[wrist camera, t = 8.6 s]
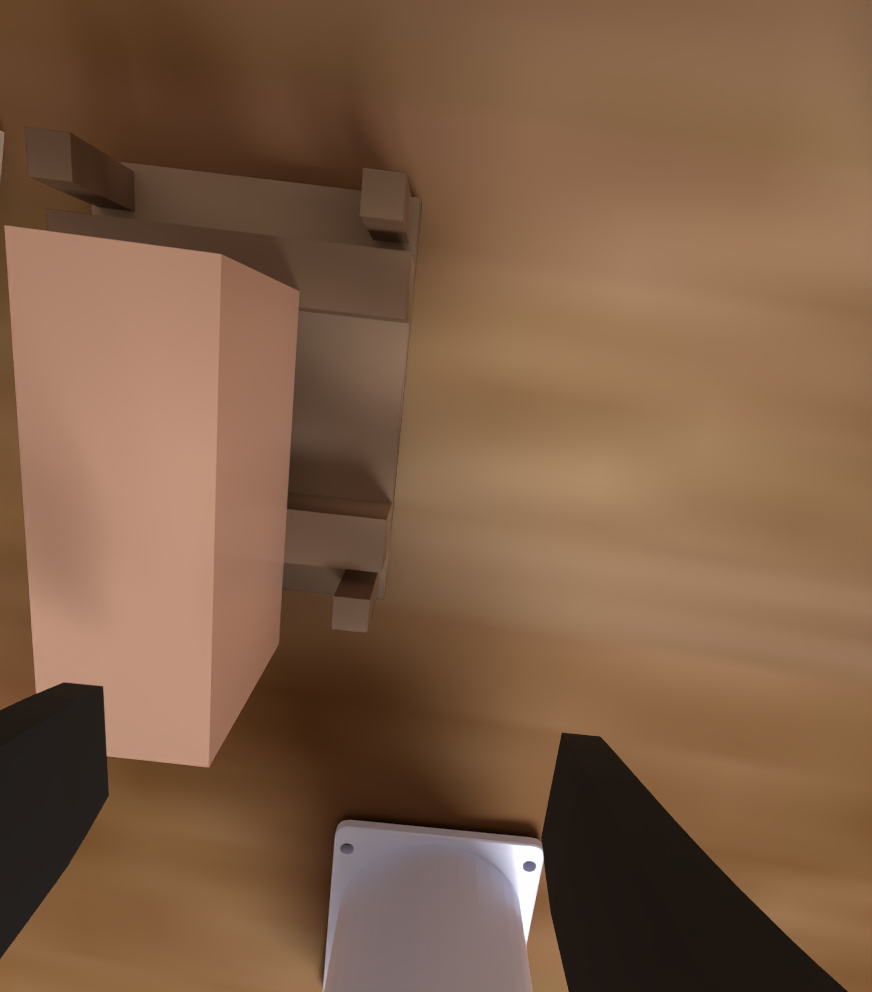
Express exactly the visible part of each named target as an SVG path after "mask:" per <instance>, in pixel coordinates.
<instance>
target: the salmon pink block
mask: <svg viewBox="0 0 872 992" xmlns="http://www.w3.org/2000/svg"><path fill="white" fill-rule="evenodd" d="M4 226H5V241H6V256H7V271H8V285H9V300H10V315H11V330H12V345H13V359H14V374H15V389H16V404H17V418H18V433H19V448H20V463H21V478H22V492H23V507H24V522H25V537H26V551H27V566H28V581H29V596H30V611H31V625H32V640H33V655H34V670H35V684H36V694H37V693H39V692H41V691H44V690H46V689H49V688H51V687H54V686H56V685H59V684H61V683H63V682H66V683H76V684H86V685H96V686H103V691H104V711H105V732H106V752H107V756H111V757H120V758H129V759H138V760H147V761H156V762H165V763H174V764H182V765H191V766H200V767H209V766H210V765H211V763H212V761H213V759H214V758H215V756H216V754H217V752H218V750H219V749H220V747H221V745H222V743H223V742H224V740H225V738H226V736H227V735H228V733H229V731H230V729H231V728H232V726H233V724H234V722H235V721H236V719H237V717H238V715H239V713H240V712H241V710H242V708H243V706H244V705H245V703H246V701H247V699H248V698H249V696H250V694H251V692H252V691H253V689H254V687H255V685H256V684H257V682H258V680H259V678H260V677H261V675H262V673H263V671H264V669H265V668H266V666H267V664H268V662H269V661H270V659H271V657H272V655H273V654H274V652H275V650H276V648H277V647H278V645H279V633H280V616H281V599H282V582H283V565H284V548H285V531H286V514H287V497H288V480H289V463H290V446H291V430H292V413H293V396H294V379H295V362H296V345H297V328H298V311H299V294H300V291H298V290H296V289H293V288H291V287H289V286H287V285H285V284H283V283H281V282H279V281H277V280H275V279H273V278H270V277H268V276H266V275H264V274H262V273H260V272H258V271H256V270H254V269H252V268H249V267H247V266H245V265H243V264H241V263H239V262H237V261H235V260H233V259H231V258H229V257H226V256H224V255H222V254H217V253H209V252H202V251H194V250H187V249H179V248H172V247H164V246H157V245H149V244H142V243H134V242H127V241H119V240H112V239H104V238H97V237H89V236H82V235H74V234H66V233H59V232H51V231H44V230H36V229H29V228H21V227H14V226H6V225H4Z"/></svg>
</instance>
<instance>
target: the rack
mask: <svg viewBox="0 0 872 992" xmlns="http://www.w3.org/2000/svg"><path fill="white" fill-rule="evenodd" d="M25 135H26V149H27V163H28V177H31V178H33V179H35V180H37V181H40V182H42V183H44V184H47V185H49V186H51V187H53V188H56V189H58V190H60V191H62V192H65V193H67V194H69V195H71V196H74V197H76V198H78V199H80V200H83V201H85V202H87V203H89V204H91V210H92V214H85V213H77V212H68V211H60V210H51V209H46V216H47V231H51V232H59V233H66V234H74V235H82V236H89V237H97V238H104V239H112V240H119V241H127V242H134V243H142V244H149V245H157V246H164V247H172V248H179V249H187V250H194V251H202V252H209V253H217V254H222V255H224V256H226V257H229V258H231V259H233V260H235V261H237V262H239V263H241V264H243V265H245V266H247V267H249V268H252V269H254V270H256V271H258V272H260V273H262V274H264V275H266V276H268V277H270V278H273V279H275V280H277V281H279V282H281V283H283V284H285V285H287V286H289V287H291V288H293V289H296V290H298V291H300V294H299V311H298V328H297V345H296V362H295V379H294V396H293V413H292V430H291V446H290V463H289V480H288V497H287V514H286V531H285V548H284V565H283V582H282V589H286V590H296V591H305V592H315V593H324V594H334V598H333V613H332V627H331V629H336V630H345V631H355V632H365V633H367V631H368V627H369V623H370V620H371V616H372V612H373V609H374V605H375V601H376V599H381V600H383V598H384V594H385V590H386V579H387V569H388V558H389V548H390V537H391V526H392V516H393V505H394V495H395V484H396V473H397V463H398V452H399V441H400V431H401V420H402V410H403V399H404V388H405V378H406V367H407V357H408V346H409V335H410V325H411V314H412V303H413V293H414V282H415V272H416V261H417V250H418V240H419V229H420V219H421V208H422V204H421V198H419V197H411V193H410V187H409V182H408V176H407V173H403V172H394V171H386V170H378V169H370V168H363V175H362V189H361V190H352V189H344V188H336V187H327V186H319V185H311V184H302V183H294V182H286V181H277V180H269V179H261V178H252V177H244V176H236V175H227V174H219V173H210V172H202V171H194V170H185V169H177V168H169V167H160V166H152V165H144V164H135V163H127V162H119V161H116V160H114V159H113V158H111V157H109V156H108V155H106V154H104V153H103V152H101V151H100V150H98V149H96V148H95V147H93V146H91V145H90V144H88V143H86V142H85V141H83V140H82V139H80V138H78V137H77V136H75V135H73V134H72V133H70V132H63V131H54V130H46V129H38V128H29V127H25Z"/></svg>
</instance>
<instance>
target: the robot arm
mask: <svg viewBox="0 0 872 992" xmlns="http://www.w3.org/2000/svg"><path fill="white" fill-rule="evenodd" d="M108 796H109V793H108V772H107V752H106V732H105V711H104V691H103V686H96V685H86V684H76V683H66V682H63V683H61V684H59V685H56V686H54V687H51V688H49V689H46V690H44V691H41V692H39V693H37V694H35V695H32V696H30V697H28V698H26V699H24V700H21V701H19V702H17V703H15V704H13V705H11V706H9V707H6V708H4V709H2V710H0V958H1V957H2V956H3V954H4V953H5V952H6V950H7V949H8V947H9V946H10V945H11V943H12V942H13V941H14V939H15V938H16V937H17V935H18V934H19V933H20V931H21V930H22V929H23V927H24V926H25V924H26V923H27V922H28V920H29V919H30V918H31V916H32V915H33V913H34V912H35V911H36V909H37V908H38V907H39V905H40V904H41V902H42V901H43V900H44V898H45V897H46V896H47V894H48V893H49V891H50V890H51V889H52V887H53V886H54V885H55V883H56V882H57V880H58V879H59V878H60V876H61V875H62V873H63V872H64V870H65V869H66V868H67V866H68V865H69V863H70V861H71V860H72V858H73V856H74V855H75V853H76V851H77V850H78V848H79V846H80V845H81V843H82V841H83V840H84V838H85V836H86V835H87V833H88V831H89V829H90V828H91V826H92V824H93V822H94V821H95V819H96V817H97V815H98V814H99V812H100V810H101V808H102V806H103V805H104V803H105V801H106V799H107V798H108ZM541 839H542V843H541V842H540V841H539V840H538V839H536V838H532V837H522V836H512V835H501V834H491V833H481V832H471V831H460V830H450V829H440V828H430V827H419V826H409V825H399V824H389V823H378V822H368V821H358V820H344V821H342V822H340V823H339V824H338V826H337V829H336V833H335V841H334V854H333V866H332V879H331V892H330V905H329V917H328V930H327V943H326V955H325V968H324V981H323V992H533V990H532V983H531V976H530V969H529V962H528V955H527V948H526V945H527V940H528V935H529V930H530V925H531V920H532V915H533V910H534V905H535V900H536V895H537V890H538V885H539V880H540V875H541V870H542V865H543V860H544V864H545V873H546V881H547V888H548V895H549V903H550V910H551V915H552V920H553V924H554V929H555V933H556V938H557V942H558V946H559V951H560V955H561V959H562V964H563V968H564V972H565V977H566V981H567V985H568V990H569V992H848V991H847V990H845V989H844V988H843V987H842V986H841V985H840V984H839V983H838V982H836V981H835V980H834V979H833V978H832V977H831V976H830V975H829V974H828V973H826V972H825V971H824V970H823V969H822V968H821V967H820V966H819V965H818V964H817V963H815V962H814V961H813V960H812V959H811V958H810V957H809V956H808V955H807V954H806V953H805V952H804V951H803V950H802V949H801V948H799V947H798V946H797V945H796V944H795V943H794V942H793V941H792V940H791V939H790V938H789V937H788V936H787V935H786V934H785V933H784V932H783V931H782V930H781V929H780V928H779V927H778V926H777V925H776V924H775V923H774V922H773V921H772V920H771V919H770V918H769V917H768V916H767V915H766V914H765V913H764V912H763V911H762V910H761V909H760V908H759V907H758V906H757V905H755V904H754V903H753V902H752V901H751V900H750V899H749V898H748V897H747V896H746V895H745V894H744V893H743V892H742V891H741V890H740V889H739V888H738V887H737V886H736V885H735V884H734V883H733V881H732V880H731V879H730V878H729V877H728V876H727V875H726V874H725V873H724V872H723V871H722V870H721V869H720V868H719V867H718V866H717V865H716V864H715V863H714V862H713V861H712V860H711V859H710V858H709V857H708V855H707V854H706V853H705V852H704V851H703V850H702V849H701V848H700V847H699V846H698V845H697V844H696V843H695V842H694V841H693V839H692V838H691V837H690V836H689V835H688V834H687V833H686V832H685V831H684V830H683V829H682V827H681V826H680V825H679V824H678V823H677V822H676V821H675V820H674V819H673V818H672V816H671V815H670V814H669V813H668V812H667V811H666V810H665V809H664V808H663V807H662V805H661V804H660V803H659V802H658V801H657V800H656V799H655V797H654V796H653V795H652V794H651V793H650V792H649V791H648V790H647V788H646V787H645V786H644V785H643V784H642V783H641V782H640V781H639V779H638V778H637V777H636V776H635V775H634V774H633V773H632V771H631V770H630V769H629V768H628V767H627V766H626V765H625V763H624V762H623V761H622V760H621V759H620V758H619V757H618V756H617V754H616V753H615V752H614V751H613V750H612V749H611V748H610V747H609V746H608V744H607V743H606V742H605V741H604V740H603V739H602V738H601V737H599V736H589V735H579V734H569V733H562V735H561V740H560V745H559V750H558V755H557V760H556V766H555V771H554V776H553V781H552V786H551V791H550V796H549V801H548V806H547V811H546V816H545V822H544V827H543V832H542V837H541ZM345 843H348V844H351V845H346V844H345ZM526 861H531V862H528V863H526Z"/></svg>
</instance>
